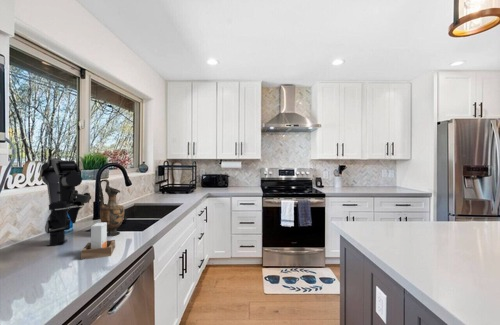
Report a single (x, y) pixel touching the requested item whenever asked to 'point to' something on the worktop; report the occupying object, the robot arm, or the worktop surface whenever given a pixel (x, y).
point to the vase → (110, 209)
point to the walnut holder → (98, 251)
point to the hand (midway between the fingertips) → (69, 224)
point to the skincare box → (99, 235)
